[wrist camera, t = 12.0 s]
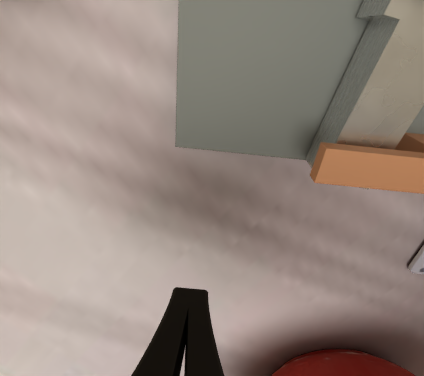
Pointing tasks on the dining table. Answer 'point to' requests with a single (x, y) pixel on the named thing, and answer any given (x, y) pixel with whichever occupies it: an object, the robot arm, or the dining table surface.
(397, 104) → the latch
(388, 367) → the mixing bowl
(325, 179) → the bracket
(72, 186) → the dining table surface
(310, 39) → the base
